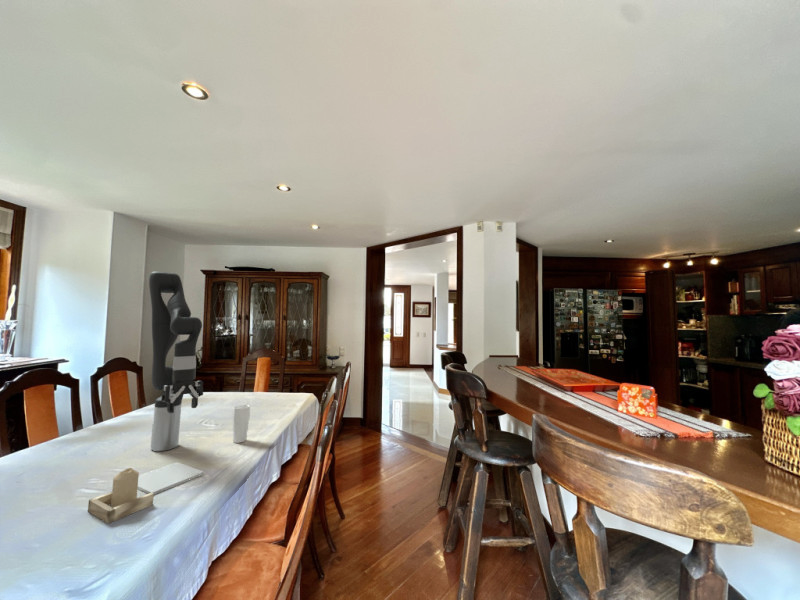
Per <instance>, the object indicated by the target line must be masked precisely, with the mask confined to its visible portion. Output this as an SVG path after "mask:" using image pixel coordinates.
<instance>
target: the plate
mask: <svg viewBox="0 0 800 600" xmlns="http://www.w3.org/2000/svg"><path fill="white" fill-rule="evenodd" d="M202 474H203V475H204V474H205V471H203V470H200V469H197V468H194V467H191V466H188V465H186V464H183V463H180V462H177V461H176V462H174V463H170V464H168V465H167V464H166V465H164V466H162V467H160V468H156V469H153V470H151V471H147V472H145V473H141V474H139V477H138V488H137V490H139V491H141V492H143V493H146V495H147V494H149V493H153V494H154V495H156V494H159V493H161V492H163V490H164V491H166V490H169V489H171V488H174V487H176V486H178V485H177V484H179V485H180V483H181V484H183V483H182V482H184V483H185V481H186V482H188V481H190V480H189V479H191V480H193V479H195V477H196V478H198V477H200V476H199V475H201V476H203V475H202ZM197 476H198V477H197ZM192 478H193V479H192ZM187 480H188V481H187ZM175 485H176V486H175ZM173 486H174V487H173ZM170 487H171V488H170ZM168 488H169V489H168ZM165 489H166V490H165ZM160 491H161V492H160ZM158 492H159V493H158Z"/></svg>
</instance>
